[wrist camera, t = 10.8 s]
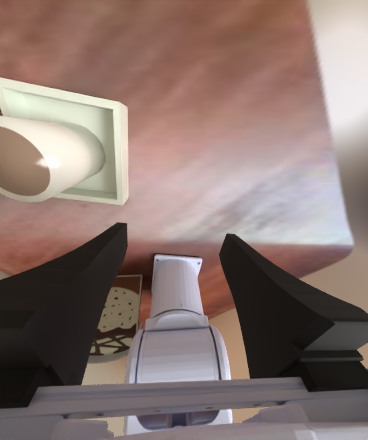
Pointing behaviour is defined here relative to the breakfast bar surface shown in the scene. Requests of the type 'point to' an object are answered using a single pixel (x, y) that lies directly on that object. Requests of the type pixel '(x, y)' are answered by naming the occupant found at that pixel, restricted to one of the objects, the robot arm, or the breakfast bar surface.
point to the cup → (45, 157)
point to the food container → (118, 320)
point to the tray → (85, 116)
